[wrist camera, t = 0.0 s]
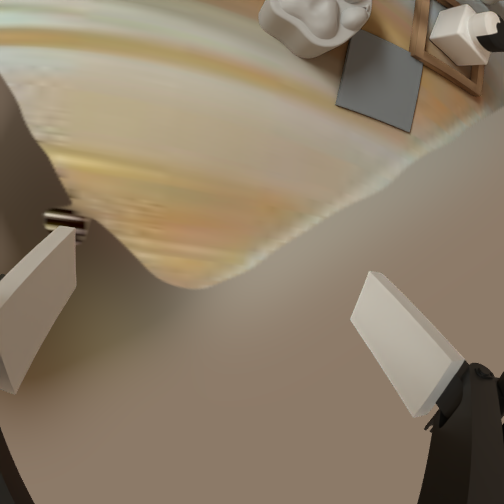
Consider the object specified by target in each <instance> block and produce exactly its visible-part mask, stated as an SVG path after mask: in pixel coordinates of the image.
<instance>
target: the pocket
mask: <svg viewBox="0 0 504 504" xmlns="http://www.w3.org/2000/svg"><path fill="white" fill-rule="evenodd" d="M436 1H437V2H439V3H440V4H442V5H444V6H445V7H446V8H448V9H450V8H453V7H457V6H461V4H460V3H458V2H457V1H455V0H436ZM429 5H430V0H416V1H415V10H414V19H413V26H412V34H411V41H410V47H409V52H410V53H411V55H410V56H412V57H414V58H415V59H417V60H419V61H421V62H423V65H425V66H427V67H429V68H430V69H432V70H434V71H436V72H437V73H439V74H441V75H442V76H444V77H445V78H447V79H449V80H450V81H452V82H453V83H455V84H457V85H458V86H460V87H461V88H463V89H464V90H466V91H467V92H469V93H470V94H472V95H473V96H481V92H482V85H483V76H484V67H485V65H472V69H471V77H470V80H469V79H468V78H467V77H465V76H464V75H462V74H461V73H459V72H458V71H456V70H455V69H453V68H452V67H450V66H449V65H447V64H445V63H444V62H442V61H441V60H439V59H437V58H436V57H434V56H432V55H431V54H429V53H427V52H426V51H424V49H425V41H426V34H427V25H428V16H429Z"/></svg>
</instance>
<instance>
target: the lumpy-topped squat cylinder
mask: <svg viewBox="0 0 504 504" xmlns="http://www.w3.org/2000/svg"><path fill="white" fill-rule="evenodd" d="M371 8H372V0H265V2H264V4H263V6H262V8H261V10H260V12H259V24H260V26H261V27H262V29H263V30H264V31H265V32H267V33H268V34H270V35H272V36H273V37H275V38H277V39H279V40H280V41H281V42H282V43H283V44H285V46H286V47H287V48H288V49H289V50H290V51H291V52H292V53H293V54H295V55H296V56H298V57H301V58H315V57H317V56H319V55H321V54H323V53H325V52H327V51H329V50H332V49H334V48H336V47H338V46H340V45H342V44H343V43H345V42H346V41H347V40H348V39H350V38H351V37H352V36H353V35H355V34H356V33H357V32H358V31H359V30H360V29H361V27H362V26H363V25H364V24H365V23H366V21H367V20H368V19H369V17H370V14H371Z"/></svg>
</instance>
